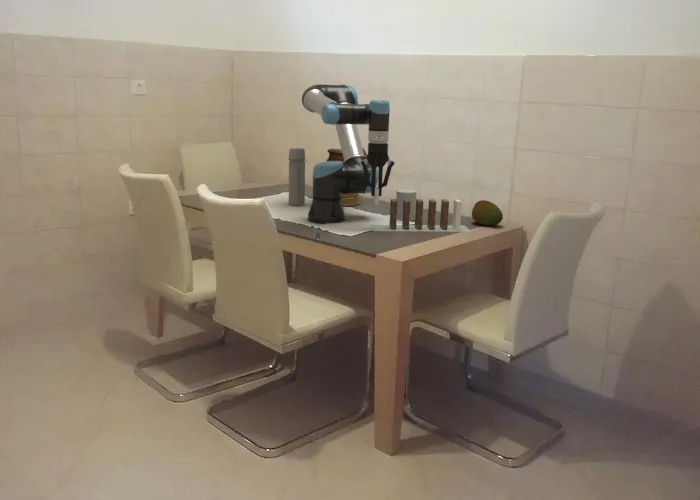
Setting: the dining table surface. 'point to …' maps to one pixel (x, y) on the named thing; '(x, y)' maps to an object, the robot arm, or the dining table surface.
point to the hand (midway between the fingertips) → (376, 204)
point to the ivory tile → (456, 214)
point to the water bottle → (296, 176)
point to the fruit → (486, 213)
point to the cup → (399, 197)
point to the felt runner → (424, 228)
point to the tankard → (338, 156)
